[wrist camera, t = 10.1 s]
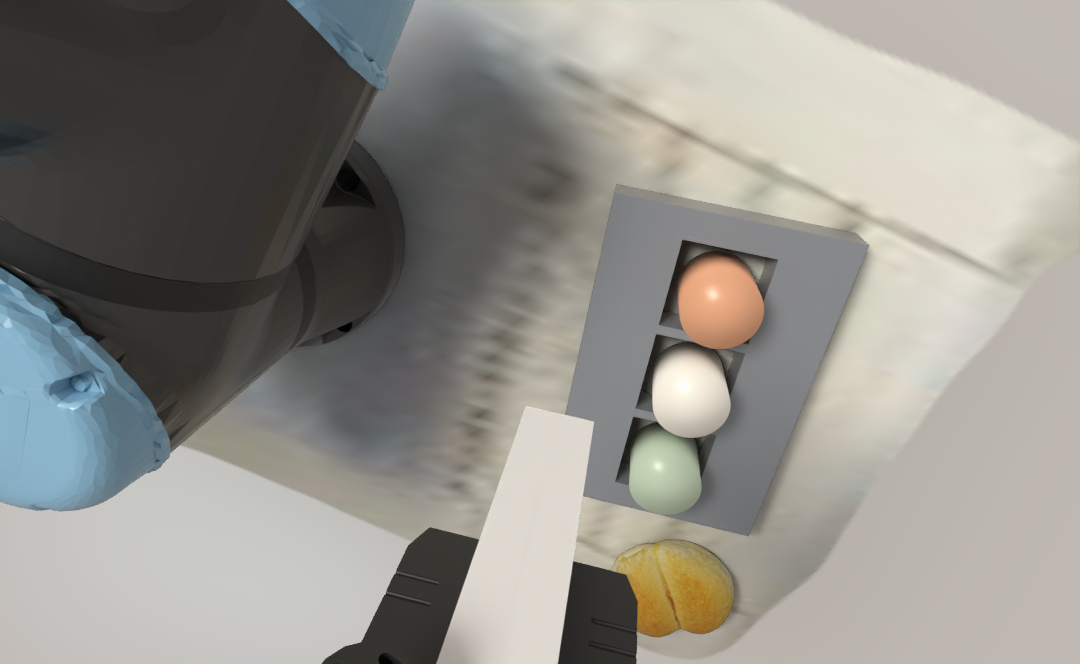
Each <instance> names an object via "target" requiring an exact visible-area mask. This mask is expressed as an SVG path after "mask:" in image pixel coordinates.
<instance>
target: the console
mask: <svg viewBox="0 0 1080 664" xmlns="http://www.w3.org/2000/svg"><path fill="white" fill-rule="evenodd" d="M682 240H687V241H692V242H697V243H701V244H706V245H711V246H716V247H721V248H725V249H730V250H735V251H740V252H744V253H749V254H754V255H759V256H763V257H768V258H767V261H766V264H765V266H764V269H763V272H762V275H761V278H760V281H759V284H758V289H759V292H760V294H761V296H762V299H763V303H764V316H763V320H762V323H761V325H760V327H759V329H758V330H757V331H756V333H755V334H754V335H753V336H752V337H751V338H750V339H748V340H747V341H746V342H744V343H742V344H740V345H738V346H735V347H732V348H727V350H731V351H735V354H734V357H733V360H732V362H731V365H730V368H729V371H728V374H727V377H726V383H727V388H728V392H729V397H730V403H731V407H730V412H729V415H728V418H727V419H726V421H725V422H724V424H723V425H722V426H721V427H720V428H719V429H717V430H716V431H714V432H713V433H711V434H708V435H706V438H705V441H704V444H703V447H702V450H701V453H700V456H699V458H698V460H699V468H700V477H701V487H702V488H701V494H700V497H699V499H698V500H697V502H696V503H695V504H694V505H693V506H692V507H691V508H689V509H688V510H686V511H684V512H681V513H678V514H673V515H663V516H667V517H671V518H676V519H680V520H684V521H688V522H692V523H696V524H700V525H705V526H709V527H713V528H717V529H721V530H725V531H729V532H733V533H738V534H742V535H746V536H749V534H750V532H751V530H752V527H753V525H754V522H755V520H756V517H757V515H758V513H759V510H760V508H761V505H762V503H763V501H764V498H765V496H766V493H767V491H768V488H769V486H770V484H771V481H772V479H773V476H774V474H775V472H776V469H777V467H778V464H779V462H780V459H781V457H782V455H783V452H784V450H785V447H786V445H787V443H788V440H789V438H790V435H791V433H792V430H793V428H794V426H795V423H796V421H797V418H798V416H799V414H800V411H801V409H802V406H803V404H804V401H805V399H806V397H807V394H808V392H809V389H810V387H811V385H812V382H813V380H814V377H815V375H816V373H817V370H818V368H819V365H820V363H821V360H822V358H823V356H824V353H825V351H826V348H827V346H828V344H829V341H830V339H831V336H832V334H833V331H834V329H835V327H836V324H837V322H838V319H839V317H840V315H841V312H842V310H843V307H844V305H845V302H846V300H847V298H848V295H849V293H850V290H851V288H852V286H853V283H854V281H855V278H856V276H857V273H858V271H859V269H860V266H861V264H862V261H863V259H864V257H865V254H866V252H867V249H868V247H869V245H868V244H867V243H866V242H865V241H864V240H863V239H862V238H861V237H860V236H859V235H858V234H856V233H852V232H847V231H843V230H838V229H833V228H828V227H823V226H818V225H813V224H808V223H804V222H799V221H794V220H789V219H784V218H779V217H774V216H769V215H765V214H760V213H755V212H750V211H745V210H740V209H735V208H730V207H726V206H721V205H716V204H711V203H706V202H701V201H696V200H692V199H687V198H682V197H677V196H672V195H667V194H662V193H657V192H653V191H648V190H643V189H638V188H633V187H628V186H623V185H618V184H616V188H615V192H614V197H613V201H612V206H611V210H610V215H609V219H608V224H607V228H606V233H605V237H604V242H603V246H602V251H601V255H600V260H599V264H598V269H597V273H596V278H595V282H594V287H593V291H592V296H591V300H590V305H589V309H588V314H587V318H586V323H585V327H584V332H583V337H582V341H581V346H580V350H579V355H578V359H577V364H576V368H575V373H574V377H573V382H572V386H571V391H570V395H569V400H568V404H567V409H566V413H565V415H568V416H573V417H577V418H581V419H585V420H590V421H594V426H593V432H592V439H591V445H590V452H589V459H588V465H587V472H586V479H585V485H584V492H583V496H585V497H589V498H593V499H597V500H601V501H605V502H609V503H614V504H618V505H622V506H626V507H630V508H634V509H638V510H643V511H647V510H646V509H644V508H642V507H641V506H640V505H639V504H637V502H636V501H635V500H634V499H633V497H632V495H631V493H630V489H629V478H630V464H626V463H622V462H621V459H622V455H623V451H624V448H625V444H626V441H627V437H628V434H629V430H630V426H631V423H632V419H633V416H634V417H638V418H642V419H647V420H651V421H655V422H658V421H657V419H656V417H655V415H654V412H653V401H652V394H651V393H646V392H642V391H640V390H641V387H642V383H643V380H644V376H645V372H646V369H647V365H648V362H649V358H650V354H651V351H652V347H653V344H654V340H655V336H656V334H659V335H663V336H668V337H672V338H677V339H681V340H686V341H690V342H695V341H693V340H692V339H691V338H690V337H689V336H688V335H687V334H686V332H685V331H684V329H683V327H682V324H681V321H680V315H679V314H674V313H670V312H665V311H663V308H664V304H665V301H666V297H667V293H668V290H669V286H670V283H671V279H672V275H673V272H674V268H675V265H676V261H677V257H678V254H679V250H680V247H681V243H682ZM695 343H696V342H695ZM647 512H650V511H647ZM651 513H652V512H651ZM659 515H660V514H659Z"/></svg>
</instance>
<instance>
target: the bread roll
mask: <svg viewBox="0 0 1080 664" xmlns="http://www.w3.org/2000/svg"><path fill="white" fill-rule="evenodd" d="M611 571H614V572H618V573H622V574H626V575H627V577H628V579H629V582H630V584H631V587H632V589H633V591H634V594H635V596H636V598H637V601H638V613H637V632H640V633H642V634H645V635H648V636H651V637H662V636H666V635H669V634H671V633H673V632H675V631H676V630H679V629H680V628H681V629H683V630H685V631H688V632H691V633H696V634H705V633H709V632H711V631H713V630H715V629H717V628H718V627H720V626H721V625H722V624H723V623H724V622H725V620H726V618H727V617H728V615H729V613H730V610H731V608H732V604H733V601H734V587H733V581H732V578H731V575H730V573H729V572H728V570H727V568H726V567H725V566H724V565H723V564H722V562H721V561H720V560H719V559H718V558H717V557H715V556H714V555H713V554H712V553H710V552H709V551H707V550H705V549H704V548H702V547H700V546H698V545H696V544H694V543H691V542H686V541H682V540H664V541H661V542H658V543H656V544H650V543H645V544H640V545H637V546H635V547H633V548H631V549H628V550H627V551H625V552H624V553H622V554H621V555H620V556H619V557H618V558H617V560H616V561H615V563H614V566H613V568H612V570H611Z"/></svg>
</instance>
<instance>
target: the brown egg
mask: <svg viewBox="0 0 1080 664" xmlns="http://www.w3.org/2000/svg"><path fill="white" fill-rule="evenodd" d="M677 297H678V306H679V315H680V321H681V324H682V327H683V329H684V331H685V332H686V334H687V335H688V336H689V337H690V338H691V339H692V340H693V341H695V342H696V343H698V344H700V345H702V346H704V347H708V348H712V349H727V348H732V347H735V346H738V345H740V344H742V343H744V342H746V341H747V340H748V339H750V338H751V337H752V336H753V335H754V334H755V333H756V331H757V330H758V329H759V327H760V325H761V323H762V320H763V316H764V303H763V299H762V296H761V294H760V292H759V289H758V287H757V285H756V283H755V280H754V278H753V276H752V274H751V271H750V269H749V268H748V266H747V265H746V264H745V262H744V261H743V260H741V259H740V258H739V257H737V256H735V255H733V254H731V253H728V252H723V251H711V252H706V253H703V254H700V255H698V256H696V257H695V258H693V259H692V260H690V261H689V262H688V263H687V264H686V265H685V266H684V268H683V269H682V271H681V273H680V275H679V277H678V281H677Z"/></svg>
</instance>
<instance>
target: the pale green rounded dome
mask: <svg viewBox="0 0 1080 664" xmlns="http://www.w3.org/2000/svg"><path fill="white" fill-rule="evenodd" d="M701 488H702V487H701V477H700V468H699V460H698V451H697V444H696V441H695V439H694V438H687V437H681V436H677V435H675V434H672V433H670V432H669V431H667V430H666V429H664V428H663V427H662V426H661V425H660V424H659V422H655V423H651V424H649V425H646V426H645V427H643V428H641V429H640V430H639V431H638V432H637V433H636V434H635V436H634V438H633V440H632V443H631V457H630V478H629V489H630V493H631V495H632V497H633V499H634V500H635V501H636V502H637V504H639V505H640V506H641V507H642V508H644V509H646V510H647V511H650V512H652V513H655V514H660V515H673V514H678V513H681V512H684V511H686V510H688V509H689V508H691V507H692V506H693V505H694V504H695V503H696V502H697V500H698V499H699V497H700V494H701Z"/></svg>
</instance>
